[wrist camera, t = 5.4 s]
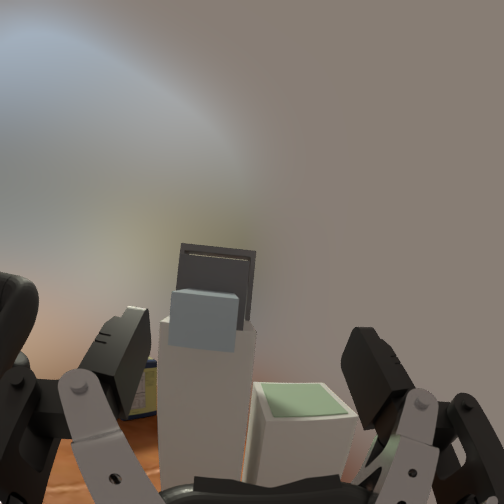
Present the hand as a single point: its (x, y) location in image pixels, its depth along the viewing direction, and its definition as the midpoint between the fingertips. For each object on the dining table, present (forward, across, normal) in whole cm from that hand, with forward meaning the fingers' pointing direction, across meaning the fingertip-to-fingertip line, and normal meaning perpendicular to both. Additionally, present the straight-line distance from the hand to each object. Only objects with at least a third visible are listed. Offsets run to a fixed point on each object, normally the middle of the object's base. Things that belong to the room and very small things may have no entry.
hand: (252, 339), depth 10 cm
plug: (+14, -2, -10) cm, 17 cm away
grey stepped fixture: (+4, +4, -41) cm, 42 cm away
